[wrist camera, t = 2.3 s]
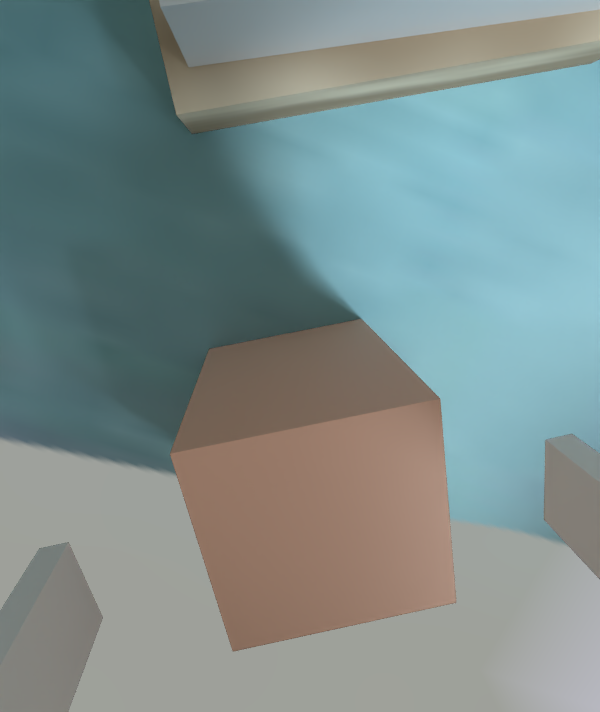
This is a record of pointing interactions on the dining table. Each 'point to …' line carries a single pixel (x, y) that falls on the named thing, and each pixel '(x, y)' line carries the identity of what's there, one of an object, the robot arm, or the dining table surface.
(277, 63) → the tower base
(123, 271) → the dining table surface
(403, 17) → the tower top
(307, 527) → the terracotta block
